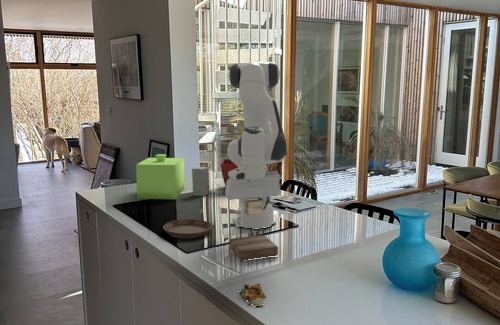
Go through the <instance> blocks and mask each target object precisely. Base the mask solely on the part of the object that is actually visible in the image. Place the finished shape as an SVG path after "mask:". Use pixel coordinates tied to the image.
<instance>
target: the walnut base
mask: <svg viewBox="0 0 500 325" xmlns="http://www.w3.org/2000/svg"><path fill="white" fill-rule="evenodd" d="M229 249H231V250H232V251H233V252H234V253H235V254H234V253H233V252H232V251H231V250H230V251H231V252H232V253H233V254H234V256H235V257H236V256H237V257H238V258H239V259H240V260H241V261H244V260H248V259H254V258H261V257H268V256H276V255H279V246H278V245H276V243H274V242H273V241H272V240H271V239H269V238H268V237H267V236H266V235H264V234H262V235H261V234H260V235H251V236H243V237H242V236H241V237H233V238H232V237H231V238H229ZM237 257H236V258H237ZM238 258H237V259H238ZM239 259H238V260H239ZM240 260H239V261H240ZM241 261H240V262H241ZM244 262H245V261H244Z"/></svg>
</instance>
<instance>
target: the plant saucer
mask: <svg viewBox="0 0 500 325" xmlns="http://www.w3.org/2000/svg"><path fill="white" fill-rule="evenodd" d="M162 228H163V230H164V231H165V233H166V234H167V235H169V236H171V237H173V238H176V239H177V238H178V239H196V238H197V239H198V238H200V237H203V236H206V235H207V234H208V233H209V232H210V231H211V229H212V228H213V224H212V223H211V222H209V221H207V220H202V219H195V218H194V219H193V218H192V219H191V218H185V219H175V220H171V221H169V222H166V223H165V224H164V225H163V226H162Z"/></svg>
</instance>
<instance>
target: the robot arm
mask: <svg viewBox="0 0 500 325" xmlns="http://www.w3.org/2000/svg"><path fill="white" fill-rule="evenodd" d="M227 77H228V81H229V83H230V85H231V86H232V87H233V88H235V89H238V93H239V101H240V103H241V105H243V125H244V127H245V128H243V130H242V135H241V137H240V138H238V139H234V140H231V141H230V142H229V143H228V146H227V149H226V153H227V157H228V159H230V160H231V161H232V162H233V163H234V164H236V165H237V166H238V168H236V169H234V170H231V171H229V172H228V176H229V177H230V178H229V179H228V180H227V183H226V186H225V191H224V192H225V193H224V194H225V197H226V198H227V199H228V200H233V201H234V200H238V201H239V203H240V205H239V206H238V208H237V209H235V215H234V216H233V217H232V219H233V222H234V225H235V227H236V228H239V227H244V228H243V229H246V228H263V227H267V226H270V225H271V224H273V223H274V222H276V223H277V221H276V220H275V219H274V208H273V205H272V204H271V197H278V196H279V195H280V194H281V187H280V181H281V178H280V177H281V175H280V173H279V172H278V171H276V170H271V171H267V170H266V164H276V163H281V162H283V161H284V160H285V158H286V156H287V154H288V151H289V150H288V141H287V139H286V136H285V132H284V129H283V124H282V121H281V117H280V116H281V115H280V112H279V108H278V106H277V102H276V100H275V99H274V98H273V97H271V96H270V95H269V93H268V91H267V90H268V88H269V91H270V92H271V91H272V89H273V88H275V87H276V86H277V85H278V84H279V81H280V79H281V78H280V77H281V70H280V68H279V65H278V63H276V62H275V61H274V62H273V61H268V62H267V61H253V62H244V63H235V64H232V65H231V66H230V67H229V70H228V76H227ZM253 198H258V199H259V200H261V201H262V215H254V216H248V215H247V214H246V213H245V212H244V210H247V205H245V204H244V201H245V199H253Z"/></svg>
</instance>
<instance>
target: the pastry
mask: <svg viewBox="0 0 500 325" xmlns="http://www.w3.org/2000/svg"><path fill="white" fill-rule="evenodd" d="M262 289H263V288H262V286H261V284H260V283H256V284H255V283H252V282H251V283H249V284H247V283H243V284H242V287H241V289H238V290H237V292H238V291H240V290H241V292H240V293H242V294H241V295H242V297H243V298H244V301H245V300H248V302H247V303H249V304H248V306H249V305H251V304H253V306H256V305H257V306H259V307H263V306H264V305H262V304H264V303H265V300H264V298H265V296H266V295H265V294H264V292H263V291H262ZM253 306H252V307H253Z"/></svg>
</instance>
